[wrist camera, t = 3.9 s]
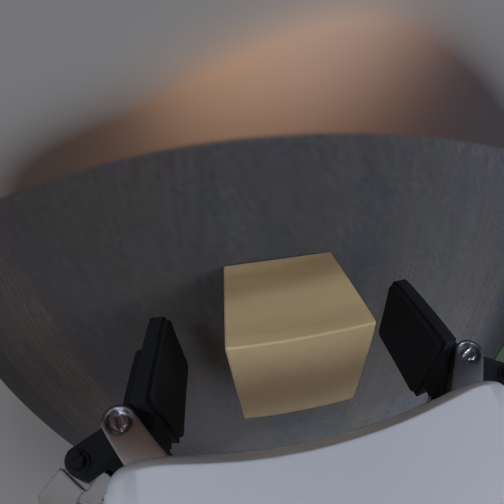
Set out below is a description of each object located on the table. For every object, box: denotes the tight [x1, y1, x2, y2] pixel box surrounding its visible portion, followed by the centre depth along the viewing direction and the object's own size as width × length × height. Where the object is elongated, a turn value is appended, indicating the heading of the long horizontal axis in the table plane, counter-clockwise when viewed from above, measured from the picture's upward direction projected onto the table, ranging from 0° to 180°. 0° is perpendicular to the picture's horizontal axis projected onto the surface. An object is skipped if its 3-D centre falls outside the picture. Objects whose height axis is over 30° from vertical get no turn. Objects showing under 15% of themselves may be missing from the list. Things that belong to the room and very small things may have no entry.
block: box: [224, 252, 376, 418], centre depth 10 cm, size 4×4×4 cm
